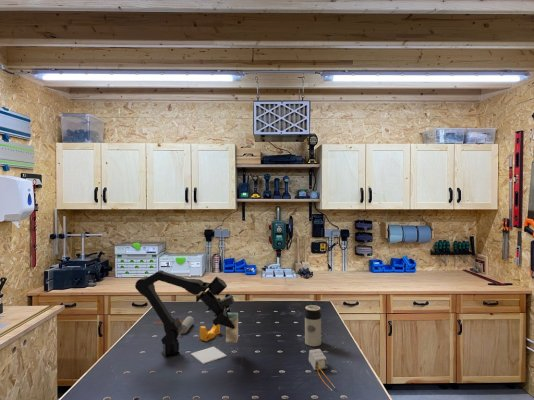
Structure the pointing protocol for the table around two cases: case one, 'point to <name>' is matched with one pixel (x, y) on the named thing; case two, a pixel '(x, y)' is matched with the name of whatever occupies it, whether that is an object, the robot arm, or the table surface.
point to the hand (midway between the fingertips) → (235, 325)
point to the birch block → (232, 333)
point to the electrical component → (318, 361)
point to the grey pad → (208, 355)
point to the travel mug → (312, 325)
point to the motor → (185, 324)
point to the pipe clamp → (209, 332)
